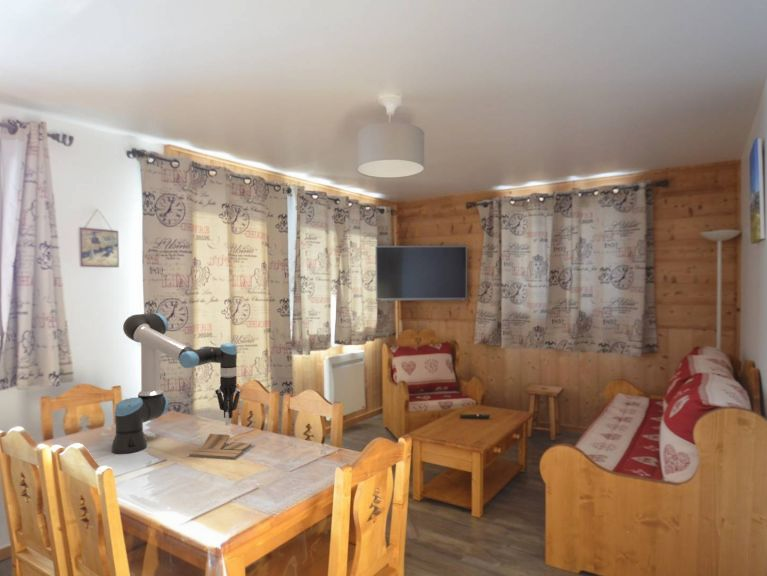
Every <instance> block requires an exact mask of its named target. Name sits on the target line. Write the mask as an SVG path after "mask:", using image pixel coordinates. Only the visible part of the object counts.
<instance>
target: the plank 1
mask: <svg viewBox="0 0 767 576" xmlns="http://www.w3.org/2000/svg"><path fill="white" fill-rule="evenodd" d="M229 439H230V434H221V433H220V434H219V433H210V434H209V435H208V436H207V438H206V439H205V442H204V443H203V444H202V446H201V448H208V449H222V448H223V447H224V446H225V444H226V443H228V441H229Z"/></svg>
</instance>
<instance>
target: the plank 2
mask: <svg viewBox="0 0 767 576" xmlns="http://www.w3.org/2000/svg"><path fill="white" fill-rule="evenodd" d="M227 444H228V445H227V446H225V447H224V448H222V449H224V450H240V451H245V450H246V449H247V448H249V447H250V446H251V445H252V443H251V442H236V441H233V442H232V441H231V442H230V443H227Z"/></svg>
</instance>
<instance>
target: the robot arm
mask: <svg viewBox="0 0 767 576" xmlns="http://www.w3.org/2000/svg"><path fill="white" fill-rule="evenodd" d="M122 326H123V327H122V330H123V332H124V335H126V337H127V338H128V339H130V340H132V341H134V342H136V343H140V351H141V352H140V357H141V358H140V359H141V360H140V365H141V367H140V368H141V369H140V370H141V371H140V373H141V376H140V377H141V383H140V385H141V388H140V389H141V390H140V391H139V392H138V394H137V397H130V398H126V399H122V400H120V401H119V402H117V403H116V405H115V412H114V414H115V415H114V417H115V436H114V439H113V442H112V445H111V452H112V453H113V454H118V455H119V454H121V455H123V454H131V453H132V454H133V453H136V452H141V451H143V450H145V449H146V448H147V447H148V441H147V438H146V435H145V433H144V428H143V427H144V423H147V422H148V421H152V420H156V419H158V418H160V417H162V416H163V415H165V414H166V412H167V410H168V407H169V400H168V398H167V396H166V395H165V394H164V391H163V390H162V389H161V358H160V356H161V353H163V354H165V355H166V356H169V357H171V358H173V359H175V360H177V361H178V362H179V365H180V366H181V367H182V368H184V369H188V368H189V369H191V368H192V369H193V368H195V367H197V366H199V367H200V366H203V365H206V364H210V363H211V364H212V363H213V364H219V365H220V367H219V368H220V369H219V373H220V374H219V375H220V378H219V379H220V381H219V382H220V383H219V384H220V385H219V387H218V389H215V391H214V392H215V394H216V397H217V402H218V407H219V409H220V411H223V418H224V421H225V423H224V424H225V426H230V425H232V418H233V414H234V413H233V411H235V410H237V408H238V405H239V404H238V403H239V400H240V397H241V396H240V395H241V394H242V390H241V389H238V385H237V378H238V377H237V374H238V372H237V369H238V368H237V365H238V363H237V360H238V359H237V358H238V350H237V347H238V346H237V345H236V343H231V342H230V343H229V342H228V343H227V342H226V343H221V344H220V347H217V346H200V348H198V349H194V348H192V347H190V346H188V345H185V344H184V343H182V342H179V341H178V340H175V339H173V338H172V337H169V336H167V335H165V334H166V332H167V331H168V328H169V323H168V319H166V317H165V316H164V315H162V314H161V313H155V312H152V313H151V312H150V313H149V312H148V313H141V314H139V313H138V314H132V315H131V316H128V317H127V318H126V320H124V322H123V325H122ZM234 394H235V395H234Z"/></svg>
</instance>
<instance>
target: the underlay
mask: <svg viewBox="0 0 767 576" xmlns="http://www.w3.org/2000/svg"><path fill="white" fill-rule="evenodd" d="M228 444H229V443H228V442H226V444H225V446H227V445H228ZM225 446H224V447H225ZM256 446H257V445H256V444H251V446H250V447H249V448H247V449H246V450H245V451H240V450H224V449H208V448H202V447H199V448H197V449H195V450H194V451H192V452H190V453H189V455H188V456H186V457H187V458H198V459H213V460H227V461H229V460H230V461H237V460H239V459H240V458H241V457H242V456H244V455H245V454H246V453H248V452H249V451H250V450H252V449H253V448H254V447H256ZM224 447H223V448H224Z"/></svg>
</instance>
